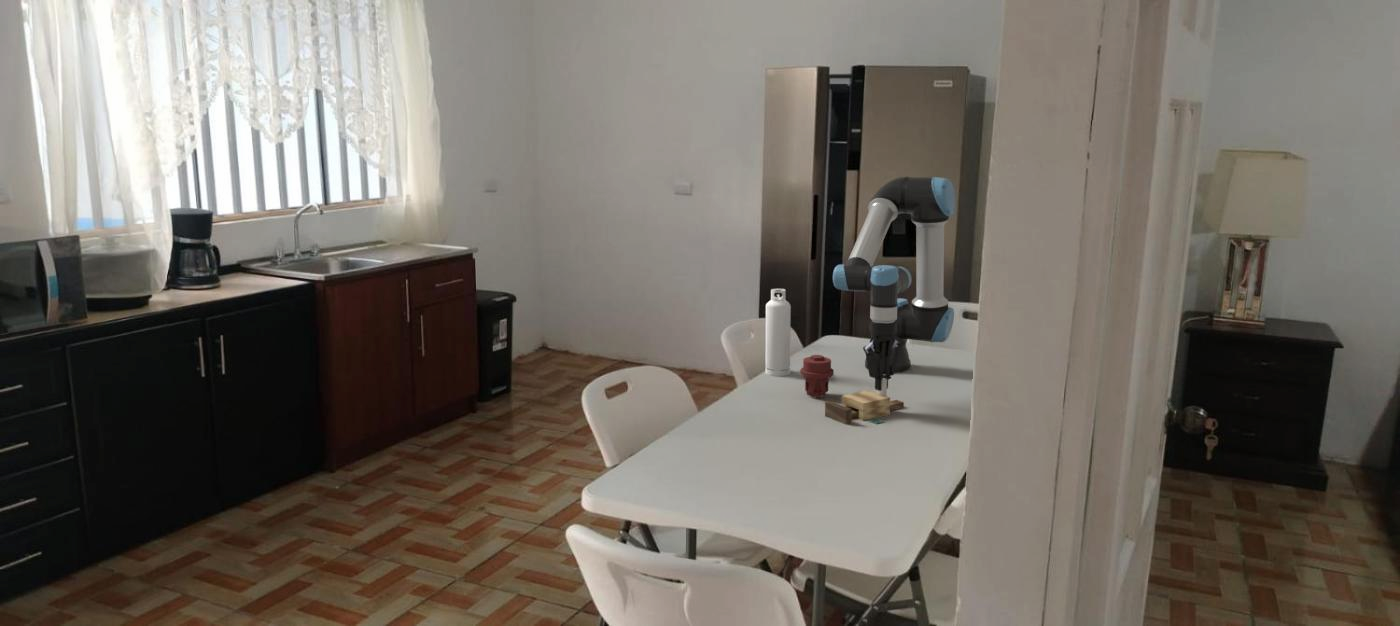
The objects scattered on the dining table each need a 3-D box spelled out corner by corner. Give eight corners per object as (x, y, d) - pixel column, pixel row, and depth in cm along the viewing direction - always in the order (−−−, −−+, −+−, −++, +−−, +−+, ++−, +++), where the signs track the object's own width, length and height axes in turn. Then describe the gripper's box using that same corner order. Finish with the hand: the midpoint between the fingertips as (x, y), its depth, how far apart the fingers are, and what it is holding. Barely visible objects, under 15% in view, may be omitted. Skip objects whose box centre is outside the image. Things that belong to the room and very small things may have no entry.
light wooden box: (868, 406, 284) (868, 390, 283) (889, 414, 277) (890, 397, 276) (841, 412, 279) (842, 395, 278) (862, 420, 271) (863, 403, 270)
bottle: (789, 369, 326) (790, 287, 320) (789, 376, 318) (790, 292, 312) (765, 369, 327) (766, 287, 321) (764, 375, 319) (765, 291, 313)
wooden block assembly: (879, 398, 292) (879, 385, 291) (922, 413, 277) (922, 400, 276) (815, 412, 279) (815, 398, 279) (856, 428, 264) (856, 414, 264)
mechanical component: (831, 390, 301) (834, 400, 291) (798, 391, 301) (801, 400, 291) (831, 352, 298) (835, 360, 288) (799, 352, 298) (802, 360, 289)
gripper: (891, 315, 282) (888, 393, 286) (857, 320, 275) (855, 400, 280) (909, 319, 276) (906, 399, 280) (875, 325, 269) (872, 407, 273)
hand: (881, 400), depth 280 cm, fingers closed
